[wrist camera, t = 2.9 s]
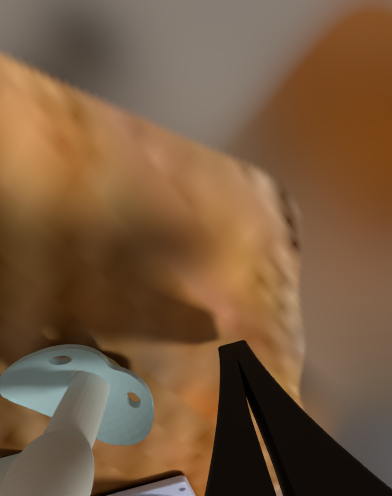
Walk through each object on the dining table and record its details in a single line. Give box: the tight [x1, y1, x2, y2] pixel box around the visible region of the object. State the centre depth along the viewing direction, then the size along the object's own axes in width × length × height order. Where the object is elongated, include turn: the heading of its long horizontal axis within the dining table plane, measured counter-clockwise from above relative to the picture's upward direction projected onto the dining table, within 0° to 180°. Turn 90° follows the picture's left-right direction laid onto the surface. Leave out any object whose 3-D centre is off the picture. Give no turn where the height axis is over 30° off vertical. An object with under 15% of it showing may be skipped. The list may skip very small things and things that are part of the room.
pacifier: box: [0, 344, 154, 496], centre depth 8 cm, size 7×6×6 cm
